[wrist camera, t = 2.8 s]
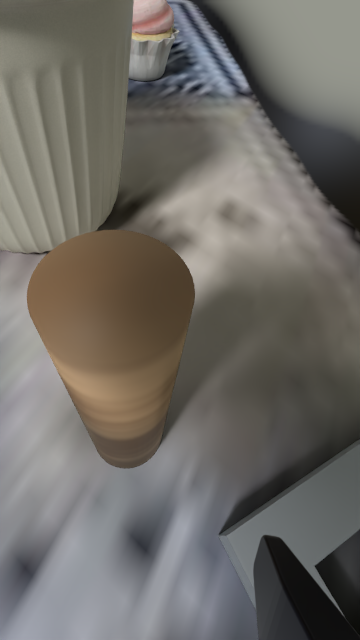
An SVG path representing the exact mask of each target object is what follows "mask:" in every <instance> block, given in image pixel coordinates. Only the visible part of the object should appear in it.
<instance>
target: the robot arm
mask: <svg viewBox="0 0 360 640" xmlns="http://www.w3.org/2000/svg"><path fill="white" fill-rule="evenodd" d="M253 578H254V590H255V602H256V614H257V626H258V638H259V640H360V636H359V634H358V633H357V632H356V631H355V629H354V628H353V627H352V626H351V624H350V623H349V622H348V621H347V619H346V618H345V617H344V616H343V614H342V613H341V612H340V611H339V609H338V608H337V607H336V606H335V604H334V603H333V602H332V601H331V599H330V598H329V597H328V596H327V594H326V593H325V592H324V591H323V589H322V588H321V587H320V586H319V584H318V583H317V582H316V581H315V579H314V578H313V577H312V576H311V574H310V573H309V572H308V571H307V569H306V568H305V567H304V566H303V564H302V563H301V562H300V561H299V559H298V558H297V557H296V556H295V555H294V553H293V552H292V551H291V550H290V548H289V547H288V546H287V545H286V543H285V542H284V541H283V540H282V539H281V538H280V537H277V536H271V535H263V536H262V537H261V539H260V543H259V546H258V550H257V553H256V557H255V561H254V566H253Z"/></svg>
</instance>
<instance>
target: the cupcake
mask: <svg viewBox="0 0 360 640" xmlns="http://www.w3.org/2000/svg"><path fill="white" fill-rule="evenodd" d="M173 22H174V15H173V10H172V9H171V7H170V6H169V5H168V4H167V1H166V0H134V5H133V22H132V38H131V51H130V64H129V77H128V78H130V79H133V80H139V81H151V80H156V79H158V78H160V77H161V76H162V75H163V74H164V71H165V67H166V63H167V59H168V56H169V52H170V49H171V46H172V44H173V42H174V40H175V39H176V37H177V35H178V33H179V31H178V30H177V29H175V28H173V27H174V24H173Z"/></svg>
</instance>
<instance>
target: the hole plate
mask: <svg viewBox="0 0 360 640" xmlns="http://www.w3.org/2000/svg"><path fill="white" fill-rule="evenodd" d="M359 529H360V439H359V440H357V441H356V442H354V443H353V444H351V445H350V446H348V447H347V448H346V449H344V450H343V451H341V452H340V453H338V454H337V455H335V456H334V457H332V458H331V459H329V460H328V461H327V462H325V463H324V464H322V465H321V466H319V467H318V468H316V469H315V470H313V471H312V472H310V473H309V474H308V475H306V476H305V477H303V478H302V479H300V480H299V481H297V482H296V483H294V484H293V485H291V486H290V487H289V488H287V489H286V490H284V491H283V492H281V493H280V494H278V495H277V496H275V497H274V498H272V499H271V500H269V501H268V502H267V503H265V504H264V505H262V506H261V507H259V508H258V509H256V510H255V511H253V512H252V513H250V514H249V515H248V516H246V517H245V518H243V519H242V520H240V521H239V522H237V523H236V524H234V525H233V526H231V527H230V528H229V529H227V530H226V531H224V532H223V533H221V534H220V535H218V536H219V538H220V540H221V542H222V544H223V546H224V548H225V550H226V552H227V554H228V556H229V558H230V560H231V562H232V564H233V566H234V568H235V570H236V572H237V574H238V576H239V578H240V580H241V582H242V584H243V586H244V588H245V590H246V592H247V594H248V596H249V598H250V600H251V602H252V604H253V606H254V608H255V610H256V602H255V590H254V578H253V566H254V561H255V557H256V553H257V550H258V546H259V543H260V539H261V537H262V536H263V535H271V536H277V537H280V538H281V539H282V540H283V541H284V542H285V543H286V545H287V546H288V547H289V548H290V550H291V551H292V552H293V553H294V555H295V556H296V557H297V558H298V559H299V561H300V562H301V563H302V564H303V566H304V567H305V568H306V569H307V571H308V572H309V573H310V574H311V576H312V577H313V578H314V579H315V581H316V582H317V583H318V584H319V586H320V587H321V588H322V589H323V591H324V592H325V593H326V594H327V596H328V597H329V598H330V599H331V601H332V602H333V603H334V604H335V606H336V607H337V608H338V609H339V611H340V612H341V610H340V608H339V607H338V605H337V603H336V602H335V600H334V598H333V597H332V595H331V593H330V592H329V590H328V588H327V587H326V585H325V583H324V582H323V580H322V578H321V577H320V575H319V573H318V572H317V570H316V568H315V567H314V566H315V565H316V564H318V563H319V562H320V561H321V560H322V559H324V558H325V557H326V556H327V555H329V554H330V553H331V552H332V551H334V550H335V549H336V548H337V547H338V546H340V545H341V544H342V543H343V542H345V541H346V540H347V539H348V538H350V537H351V536H352V535H353V534H354V533H356V532H357V531H358V530H359ZM341 613H342V612H341ZM342 614H343V613H342ZM343 616H344V615H343Z"/></svg>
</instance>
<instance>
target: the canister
mask: <svg viewBox="0 0 360 640" xmlns="http://www.w3.org/2000/svg"><path fill="white" fill-rule="evenodd" d="M133 5H134V0H0V250H1V251H6V250H7V251H10V252H13V253H18V252H23V253H27V254H29V253H33V252H38V253H42V252H45V251H51V250H53V249H54V248H55V247H57V246H58V245H60V244H62V243H63V242H65V241H67V240H69V239H71V238H74V237H76V236H79V235H82V234H85V233H90V232H94V231H96V230H97V229H98V228H99V226H101V225H102V224H103V223H104V222H105V220H106V218H107V217H108V216H109V214H110V213H111V211H112V209H113V206H114V203H115V201H116V198H117V194H118V188H119V181H120V173H121V163H122V153H123V143H124V132H125V120H126V107H127V92H128V77H129V64H130V51H131V38H132V22H133Z"/></svg>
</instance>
